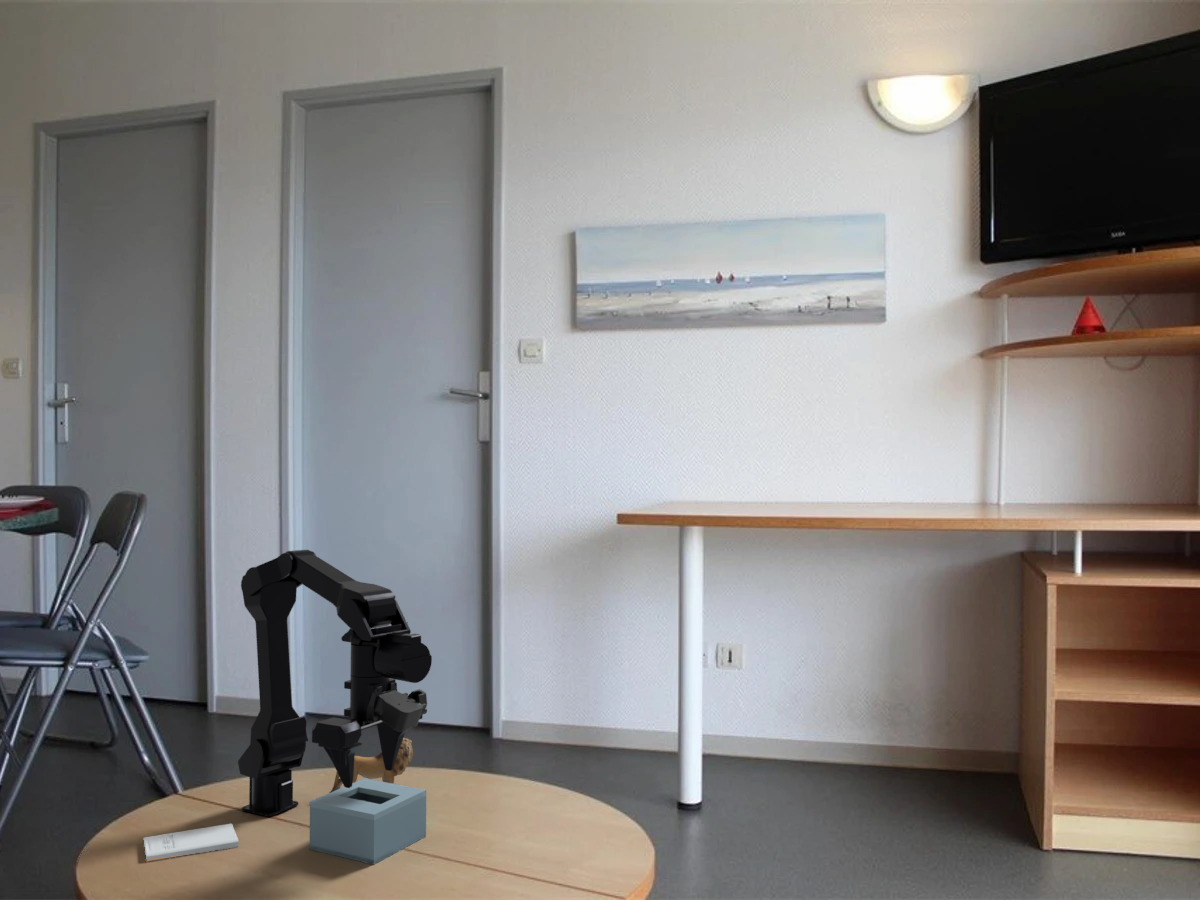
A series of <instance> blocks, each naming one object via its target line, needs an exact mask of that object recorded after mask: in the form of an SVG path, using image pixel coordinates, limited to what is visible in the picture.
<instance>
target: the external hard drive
mask: <svg viewBox="0 0 1200 900" xmlns="http://www.w3.org/2000/svg"><path fill="white" fill-rule="evenodd" d="M236 833H237V832H236V830H235V828H234V826H233V823H226V824H218V825H214V826H213V825H212V826H208V827H202V828H201V827H200V828H196V829H195V828H194V829H188V830H182V831H176V832H175V831H174V832H169V833H163V834H159V835H158V834H156V835H151V836H144V837H142V841H143V840H144V845H143V848H144V847H145V851H144V856H145V855H146V859H151V858H162V857H171V856H177V855H178V856H179V855H187V854H194V855H196V854H195V853H200V854H202V853H201V852H206V853H210V852H209V851H212V852H216V851H215V850H218V851H222V850H223V849H224V850H229V848H230V849H234V848H235V847H236V848H239V845H240V844H239V837H238V835H237V834H236ZM224 850H223V851H224ZM146 859H145V860H146Z"/></svg>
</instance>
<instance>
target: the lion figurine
mask: <svg viewBox="0 0 1200 900" xmlns="http://www.w3.org/2000/svg"><path fill="white" fill-rule="evenodd" d="M413 754H414V749H413V741H412V740H411V739H409V738H405V737H404V738H403V740H402V743H401V746H400V749H399V752H398V755H397V758H396V761H395V764H394V767H393V770H391V771H388V770H386V769H385V765H384V762H383V757H382V751H380V753H379V754H377V755H375V756H369V757H367V756H366V757H365V756H359V755H355V758H354V774H353V782H352V783H355V782H357V780H358V775H359V776H361V777H363V779H364V778H366V779H371V780H376V779H382V782H387V783H392V784H395V777H397V776H400V775H403V773H404V772H405V771H406V768H407V767H408V766H409V764H411V762H412V758H413ZM342 785H343V783H342V781H341V779H340V777H339V775H338V772H337V771H336V773H335V777H334V782H333V786H332V789H330V790H331V791H329V793H331V792H333V791H336V790H338V789H340V788H342Z"/></svg>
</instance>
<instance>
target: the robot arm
mask: <svg viewBox="0 0 1200 900" xmlns="http://www.w3.org/2000/svg"><path fill="white" fill-rule="evenodd" d="M302 585H303V586H304V587H306V588H308V589H309V590H311V591H312V592H314V593H315V594H317V595H319V597H321V598H323V599H325V600H326V601H328V602H329V603H331V605H333V606H334V607H335V608H336V615H337V617H338V618H339V619H340V620H341V621H342V622H343V623H344V624H345V625H346V626H347V627H348V628H349V629H348V630H347V631H346V632H345V633H344V634H343V635H342V636H341V638H340V639H341V641H342V642H345V643H350V676H349V678H350V680H345V681H344V683H343V685H344V686H343V688H344V689H346V690H349V692H350V695H349V700H350V701H349V707H347V708H344V709H343V716H344V717H347V718H350V719H346V718H339V717H335V716H334V717H330V718H327V719H324V720H320V721H318V722H316V723H315V724H314V725H313V726H312V728H311V743H314V744H318V745H317V746H318V747H320V748H323V750H324V751H325V752H326V754H327V755H328V758H330V761H331V763H332V764H333V766H334V768H335V770H336V773H337V772H338V775H339V778H340V779H341V781H342V783H343V784H342V785H343V787H346V788H351V787H352V782H353V774H354V758H355V756H356V752H357V751H358V750H359V748H360V747H361V746H363V743H362V742H359V740H360V738H361V737H362V731H363V730H366V729H369V728H372V727H374V726H376V727H377V732H378V738H379V739H378V740H379V744H380V750H381V751H380V752H382V757H383V762H384V765H385V769H386V770H388V771H391V770H393V767H394V764H395V761H396V758H397V755H398V752H399V749H400V746H401V743H402V740H403V738H405V735H406V734H407V732H409V731H411V729H412V728H417V727H418V724H419V721H420V720H422V719H423V715H425V714H427V712H428V709H427V706H428V699H427V698H428V697H427V692H425V691H424V690H423V689H420V688H419V689H415V690H412V691H411V692H410V693H408V692H404V693H401V692H400V691H398V683H397V682H396V680H397V681H401V682H402V681H403V682H407V683H414V684H418V683H420V682H422V681H423V680H424V679H425V678H426V677H427V676H428V674H429V672H430V671H431V667H432V661H433V659H432V655H431V653H430V649H429V648H428V647H427V646H426V644H424V643H422V635H421V634H419V633H412V632H411V631H412V630H411V629H410V627H409V624H408V620H407V619H406V618H405V616H404V613H403V611H402V609H401V607H400V605H399V603H398V601H397V599H396V595H395V593H394V592H393V590H391V589H390V588H387V587H384V586H381V585H378V584H375V583H367V582H364V581H362V582H361V581H359V580H356V579H355V578H352V577H350V576H349V575H348V574H346V573H344V572H343V571H341V570H339V569H338V568H336V567H335V566H333V565H332V564H330V563H328V562H327V561H325V560H323V559H322V558H320V557H318V556H317V555H316V553H315V552H314V551H312V550H309V549H298V550H287V551H285V552H284V553H282V554H280V555H278V556H277V557H275V558H273V559H271V560H269V561H266V562H264V563H261V564H259V565H257V566H251V567H250V568H248V569H247V570H246V572H245V574H244V575H242V578H241V582H240V587H241V592H242V597H243V598H242V599H243V604H244V608H246V610H247V611H248V613H249V614H250V616H251V617H252V619H253V620H254V622H255V623H254V624H255V636H256V650H257V651H256V653H257V654H256V655H257V656H256V657H257V674H258V689H259V690H258V691H259V712H258V714H257V716H256V718H255V719H254V720H255V721H254V722H253V724H252V726H251V730H250V740H249V741H250V744H249V745H248V746H247V748H246V750H244V752H243V753H242V755H241V756H240V758H239V759H238V761H237V764H238V770H239V774H240V775H242V776H246V777H248V778H249V794H248V795H249V797H248V800H249V801H248V802H249V803H248V804H247V805H244V806H242V807H241V811H244V812H247V813H252V814H256V815H259V816H266V817H272V816H276V815H278V814H279V813H282V812H285V811H288V810H289V809H292V808H295V807H297V806H299V801H297V800H294V798H293V797H294V781H293V779H292V777H293V776H292V775H293V774H292V773H293V772H292V769H294V768H295V769H296V768H299V767H301V766H302V762H303V757H304V754H305V752H306V748H307V742H309V738H308V734H307V719H306V718H305V716H300V715H299V714H298V713H297V711H296V709H294V707H293V701H292V700H293V699H292V697H293V696H292V683H291V682H292V680H291V679H292V677H291V662H290V660H291V659H290V643H289V627H288V619H289V616H290V614H291V612H292V610H293V608H294V605H296V604H295V603H297V589H298V588H299V587H300V586H302Z"/></svg>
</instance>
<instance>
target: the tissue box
mask: <svg viewBox="0 0 1200 900" xmlns="http://www.w3.org/2000/svg"><path fill="white" fill-rule="evenodd" d="M330 792H331V791H330ZM362 800H364V801H362ZM367 801H369V802H367ZM371 802H374V803H371ZM376 803H378V804H376ZM426 837H427V789H424V788H419V787H413V786H407V785H401V784H396V783H394V784H392V783H387V782H383V781H380V780H376V779H368V778H364V777H363V778H362V779H359V780H358V781H357V780H356V782H355V783H352V787H351V788H346V787H344V786H343V787H340V789H338V790H336V791H333V792H331V793H326V794H324V795H322V796H319V797H316V798H314V799H312V800H310V801H309V850H311V851H315V852H320V853H323V854H328V855H332V856H337V857H341V858H345V859H347V860H348V859H349V860H353V861H358V862H361V863H366V864H369V865H376V864H378V863H379V862H381V861H383V860H385V859H387V858H389V857H390V856H393V855H394V854H397V853H398V852H400V851H401V850H404V849H405V848H407V847H409V846H410V845H413V844H415V843H416V842H419V841H421V840H422V839H424V838H426Z"/></svg>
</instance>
